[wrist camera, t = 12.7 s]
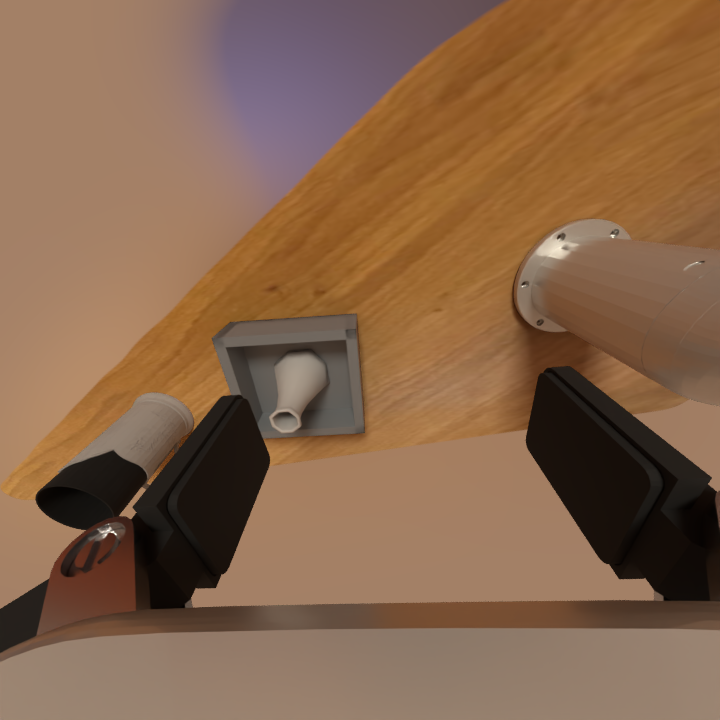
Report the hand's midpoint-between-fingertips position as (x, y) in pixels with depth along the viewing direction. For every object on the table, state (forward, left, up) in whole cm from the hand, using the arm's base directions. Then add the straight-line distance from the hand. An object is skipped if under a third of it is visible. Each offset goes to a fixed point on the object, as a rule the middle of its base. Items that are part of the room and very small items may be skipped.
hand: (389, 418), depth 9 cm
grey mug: (+31, +22, -26) cm, 46 cm away
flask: (+10, +13, -25) cm, 30 cm away
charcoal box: (+10, +13, -26) cm, 31 cm away
